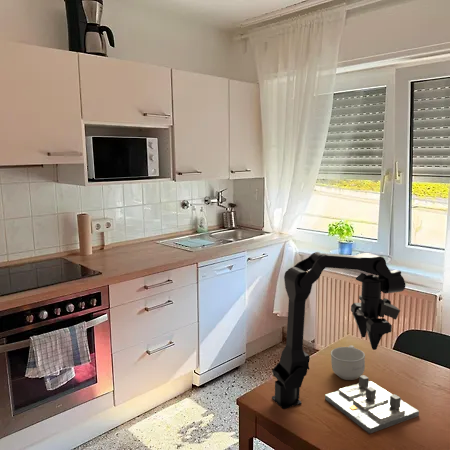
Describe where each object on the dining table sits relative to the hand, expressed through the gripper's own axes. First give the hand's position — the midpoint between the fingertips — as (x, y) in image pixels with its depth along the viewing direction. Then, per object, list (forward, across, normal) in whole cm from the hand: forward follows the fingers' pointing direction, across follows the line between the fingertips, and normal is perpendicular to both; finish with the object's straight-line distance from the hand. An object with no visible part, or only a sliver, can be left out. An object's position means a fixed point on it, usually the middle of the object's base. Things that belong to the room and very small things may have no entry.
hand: (368, 343), depth 130 cm
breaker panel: (+14, -12, +3) cm, 19 cm away
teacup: (+14, +8, +3) cm, 17 cm away
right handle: (+11, -16, -2) cm, 20 cm away
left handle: (+11, -5, +3) cm, 13 cm away
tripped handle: (+11, -12, +3) cm, 17 cm away
